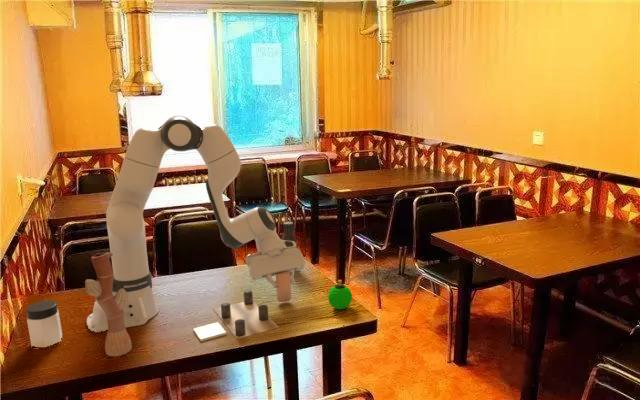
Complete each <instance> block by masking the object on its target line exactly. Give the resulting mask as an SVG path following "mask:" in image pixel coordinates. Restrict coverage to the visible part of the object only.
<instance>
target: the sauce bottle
mask: <svg viewBox="0 0 640 400" xmlns="http://www.w3.org/2000/svg"><path fill="white" fill-rule="evenodd" d="M282 226H283V236H282V238H281V240H286V241H294V242H295V243H296V247H295V248H297V249H298V243H297V238H296V236H295V234H294V222H293V221H285V222H283V224H282Z"/></svg>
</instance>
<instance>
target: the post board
mask: <svg viewBox="0 0 640 400" xmlns="http://www.w3.org/2000/svg"><path fill="white" fill-rule="evenodd" d="M268 307H269V306H268V305H267V304H260V305H258V304H257V303H256V302H254V297H253V290H250V289H248V290H244V291H243V301H241V302H237V303H233V304H231V303H230V302H223V303H221V304H220V307H216V308H213V311H214V312H215V313H216V315H217V316H218V317H219V318H220V320H221V321H222V322H223V324H224V325H225V326H226V328H227V329H228V331H230V333H231V334H232V335H233V337H234V338H235V339H236V340H238V339H242V338H243V339H244V338H246V337H250V336H253V335H257V334H260V333H264V332H269V331H271V330H275V329H280V326H279V325H278V324H277V323H276V322H274V321H275V320H274V321H273V319H272V318H271V317H270V316H269V310H268V309H269V308H268Z"/></svg>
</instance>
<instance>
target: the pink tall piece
mask: <svg viewBox="0 0 640 400" xmlns="http://www.w3.org/2000/svg"><path fill="white" fill-rule="evenodd" d="M112 255H113V254H112V253H111V252H110V251H109V252H108V251H107V252H97V253H95V254H94V255H92V256H91V258H90V260H91V263H92V265H93V268H94V271H95V274H96V280H95V279H90V278H89V279H88V278H87V279H85V281H84V287H85V290H86V293H87V294H88V295H89V296H90V297H95V301H96V300H97V302H98V304H99V305H100V307H101V308H102V309H103V311H104V312H105V314H106V316H107V322H108V331H107V334H106V336H105V340H104V341H105V342H104V350H105V351H104V352H105V354H106V356H109V357H112V356H113V357H120V356H123V355H126V354H127V353H130V351H132V350H133V345H132V340H131V337H130V335H129V333H128V331H127V329H126V328H127V327H126V328H125V324H124V312H123V309H124V308H125V307H126V305H127V303H128V295H127V293H126V291H125V290H124V289H120V290H119V291H118V292H117V293H116V295H115V296H113V294H112V289H113V278H114V273H113V267H112V262H111V260H110V258H111V256H112Z"/></svg>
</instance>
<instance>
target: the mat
mask: <svg viewBox="0 0 640 400" xmlns="http://www.w3.org/2000/svg"><path fill="white" fill-rule="evenodd" d="M192 329H193V330H192V331H193V333H194V334H195V335H196V337H197V338H198V340H199V341H200V342H206V341H209V340H212V339H215V338H220V337H223V336H227V331H226V329H224V328H223V327H222V325H221V324H220V323H219V322H218V321H217V322H213V323H209V324H205V325H203V326H202V325H201V326H198V327H195V328H192Z"/></svg>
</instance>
